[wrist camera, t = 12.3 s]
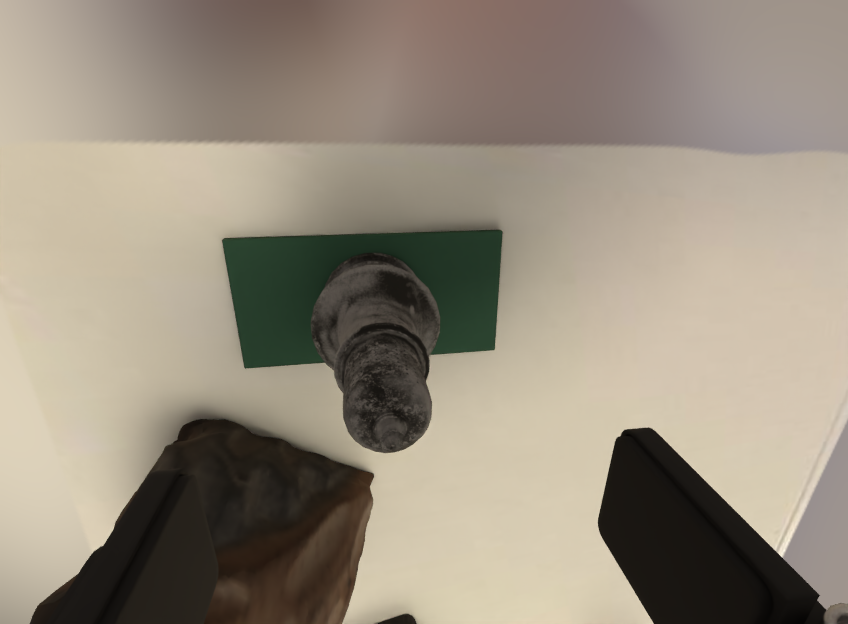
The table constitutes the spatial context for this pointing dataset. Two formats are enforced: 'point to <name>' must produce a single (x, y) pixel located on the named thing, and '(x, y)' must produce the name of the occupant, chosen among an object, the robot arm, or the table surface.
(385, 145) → the table surface
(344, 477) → the jagged brown rock
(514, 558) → the table surface
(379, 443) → the grey chess piece
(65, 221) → the table surface
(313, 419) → the table surface
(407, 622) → the keyboard
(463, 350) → the mat
